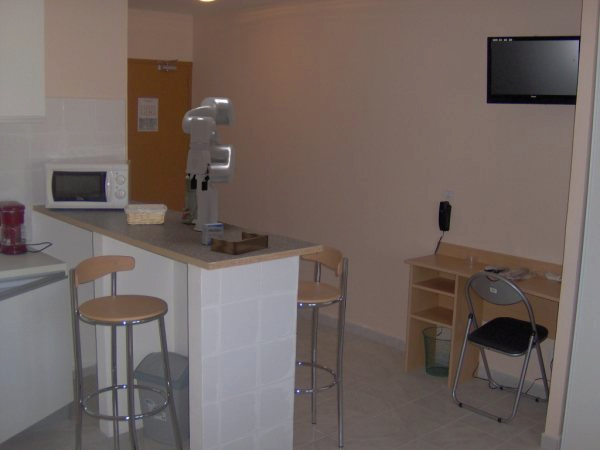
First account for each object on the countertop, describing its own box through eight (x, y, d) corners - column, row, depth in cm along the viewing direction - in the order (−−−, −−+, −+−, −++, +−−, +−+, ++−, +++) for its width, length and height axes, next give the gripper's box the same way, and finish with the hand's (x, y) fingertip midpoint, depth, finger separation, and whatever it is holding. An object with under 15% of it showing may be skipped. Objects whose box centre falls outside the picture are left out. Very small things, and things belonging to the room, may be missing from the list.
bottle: (196, 225, 347) (196, 167, 342) (178, 224, 348) (178, 166, 344) (202, 222, 355) (202, 166, 350) (185, 221, 357) (185, 165, 352)
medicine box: (207, 245, 299) (207, 225, 297) (201, 243, 302) (202, 223, 301) (223, 244, 303) (223, 223, 302) (218, 242, 307) (218, 222, 305)
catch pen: (210, 250, 289) (210, 238, 289) (243, 242, 307) (243, 231, 306) (235, 254, 282) (236, 242, 281) (267, 247, 300) (268, 235, 299)
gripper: (178, 146, 302) (178, 188, 305) (209, 148, 292) (208, 192, 295) (190, 145, 308) (190, 187, 311) (221, 148, 299) (220, 191, 302)
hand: (199, 189), depth 303 cm, fingers open, 5 cm apart
